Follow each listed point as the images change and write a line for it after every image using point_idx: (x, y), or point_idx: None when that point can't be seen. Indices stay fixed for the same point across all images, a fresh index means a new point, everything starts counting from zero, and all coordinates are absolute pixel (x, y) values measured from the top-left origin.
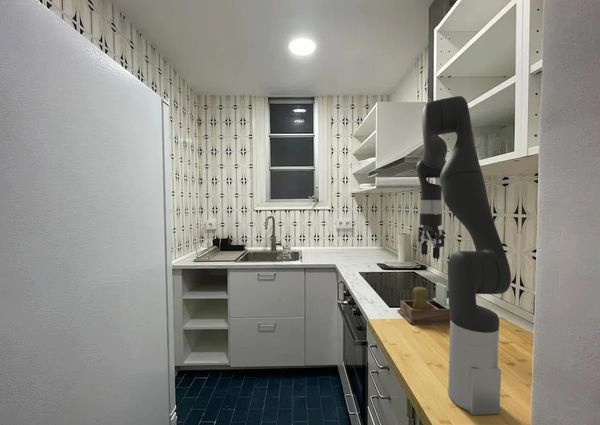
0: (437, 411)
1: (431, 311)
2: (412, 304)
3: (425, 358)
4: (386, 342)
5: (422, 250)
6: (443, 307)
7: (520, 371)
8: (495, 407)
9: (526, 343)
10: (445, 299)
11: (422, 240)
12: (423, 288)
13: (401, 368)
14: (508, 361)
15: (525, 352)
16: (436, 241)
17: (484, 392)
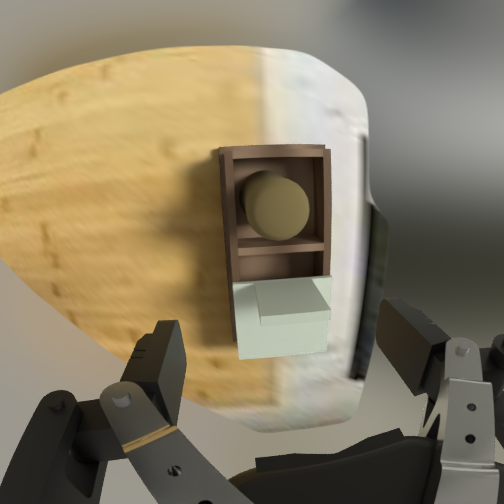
0: None
1: (228, 224)
2: (320, 193)
3: (51, 131)
4: (112, 60)
5: (398, 317)
6: None
7: (38, 288)
8: None
9: None
10: (256, 296)
11: (446, 379)
12: (269, 222)
13: (29, 82)
14: (61, 292)
15: (102, 345)
16: (40, 435)
17: None
